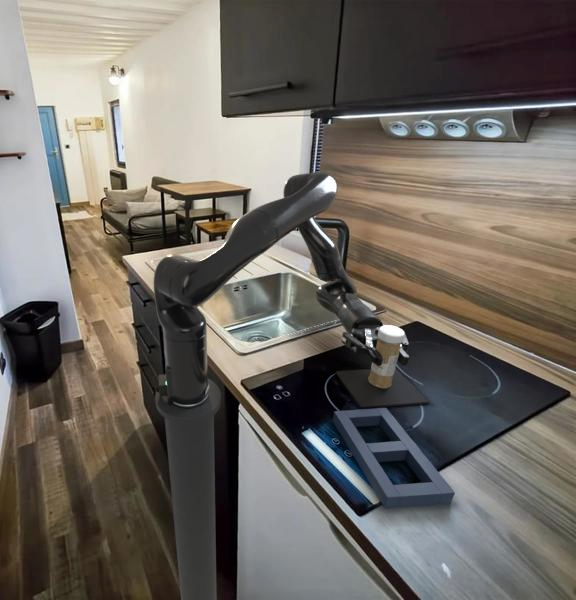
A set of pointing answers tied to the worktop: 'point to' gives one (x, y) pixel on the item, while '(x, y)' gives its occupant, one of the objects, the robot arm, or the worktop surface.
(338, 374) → the mat
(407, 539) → the worktop surface
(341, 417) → the holder
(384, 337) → the sprinkles bottle
